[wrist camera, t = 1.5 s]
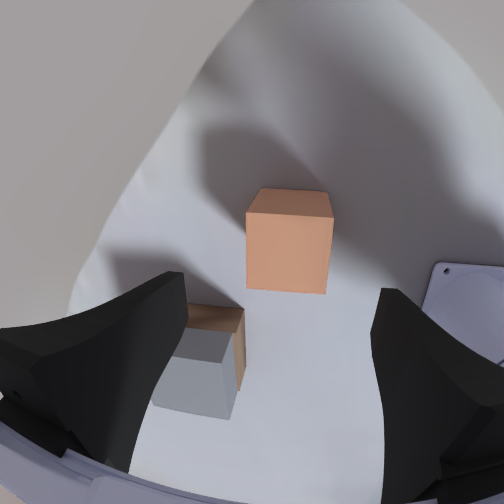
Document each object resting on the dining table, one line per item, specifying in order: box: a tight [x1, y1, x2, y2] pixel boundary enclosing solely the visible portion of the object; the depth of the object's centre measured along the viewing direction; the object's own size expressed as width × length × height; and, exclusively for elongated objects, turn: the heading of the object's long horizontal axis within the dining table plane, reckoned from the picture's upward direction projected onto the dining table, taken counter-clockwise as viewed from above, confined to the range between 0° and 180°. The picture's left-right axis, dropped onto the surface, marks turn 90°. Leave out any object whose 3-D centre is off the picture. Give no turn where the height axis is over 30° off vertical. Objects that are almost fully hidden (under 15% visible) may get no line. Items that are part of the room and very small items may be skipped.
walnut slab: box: [186, 303, 246, 391], centre depth 23 cm, size 6×6×3 cm
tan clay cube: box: [246, 188, 334, 294], centre depth 17 cm, size 4×4×5 cm
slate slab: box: [151, 327, 238, 420], centre depth 21 cm, size 6×6×3 cm
